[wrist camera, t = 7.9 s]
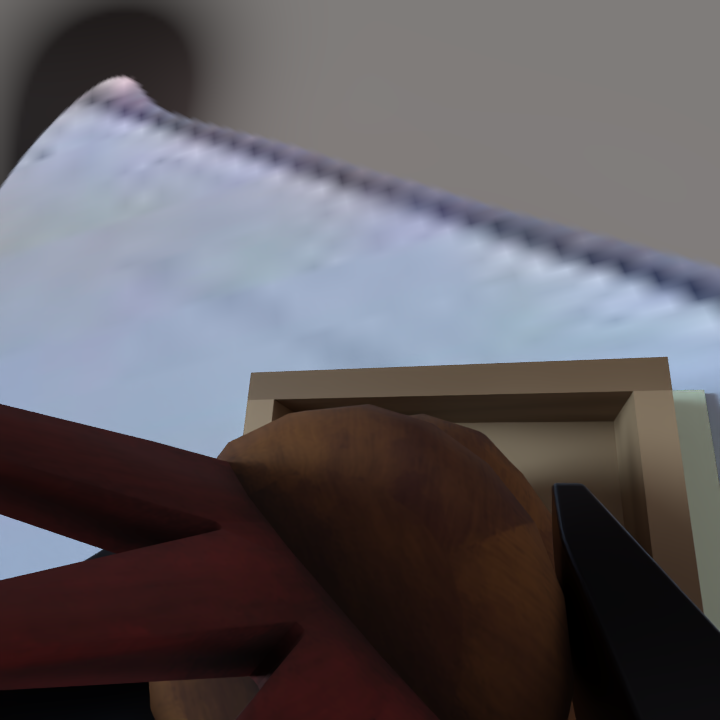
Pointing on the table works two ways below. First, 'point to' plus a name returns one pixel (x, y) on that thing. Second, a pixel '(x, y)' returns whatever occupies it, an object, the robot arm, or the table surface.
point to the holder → (538, 431)
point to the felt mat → (701, 493)
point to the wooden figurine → (289, 571)
